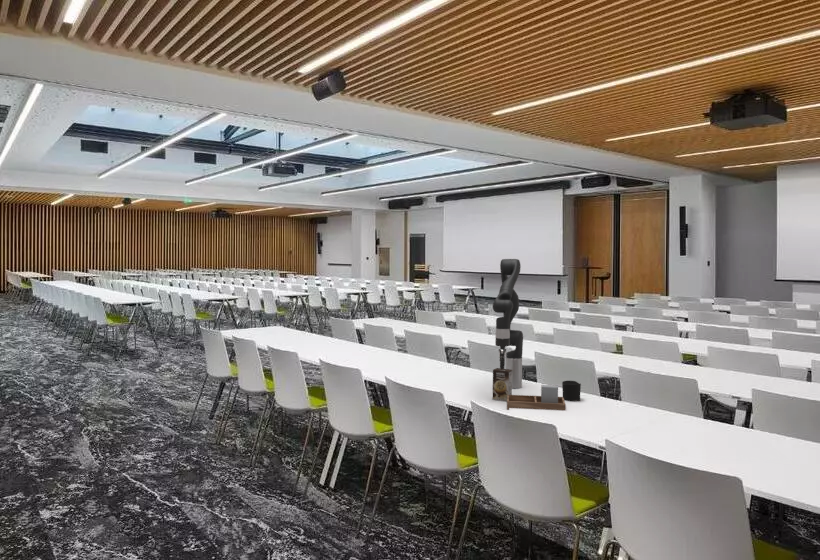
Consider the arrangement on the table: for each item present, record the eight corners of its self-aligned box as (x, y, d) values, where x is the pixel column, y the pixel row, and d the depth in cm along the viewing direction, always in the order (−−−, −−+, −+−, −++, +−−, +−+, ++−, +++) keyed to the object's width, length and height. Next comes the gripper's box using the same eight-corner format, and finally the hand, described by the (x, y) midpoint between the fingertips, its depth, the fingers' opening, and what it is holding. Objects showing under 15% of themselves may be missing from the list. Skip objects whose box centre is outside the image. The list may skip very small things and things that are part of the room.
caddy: (507, 402, 306) (507, 394, 306) (563, 404, 301) (563, 396, 301) (507, 409, 292) (507, 401, 291) (565, 412, 286) (565, 404, 286)
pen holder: (560, 402, 306) (560, 383, 305) (564, 398, 314) (564, 379, 313) (578, 404, 301) (578, 385, 301) (582, 400, 309) (582, 381, 309)
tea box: (541, 404, 298) (541, 384, 298) (557, 404, 297) (557, 385, 296) (541, 406, 293) (541, 387, 293) (557, 407, 292) (558, 387, 291)
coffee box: (492, 399, 311) (492, 369, 310) (496, 397, 317) (496, 367, 316) (508, 401, 307) (508, 371, 306) (512, 398, 313) (512, 369, 312)
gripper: (496, 335, 318) (495, 364, 319) (495, 338, 304) (494, 369, 305) (509, 335, 317) (509, 365, 317) (509, 339, 303) (509, 370, 303)
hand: (502, 367), depth 311 cm, fingers open, 8 cm apart
